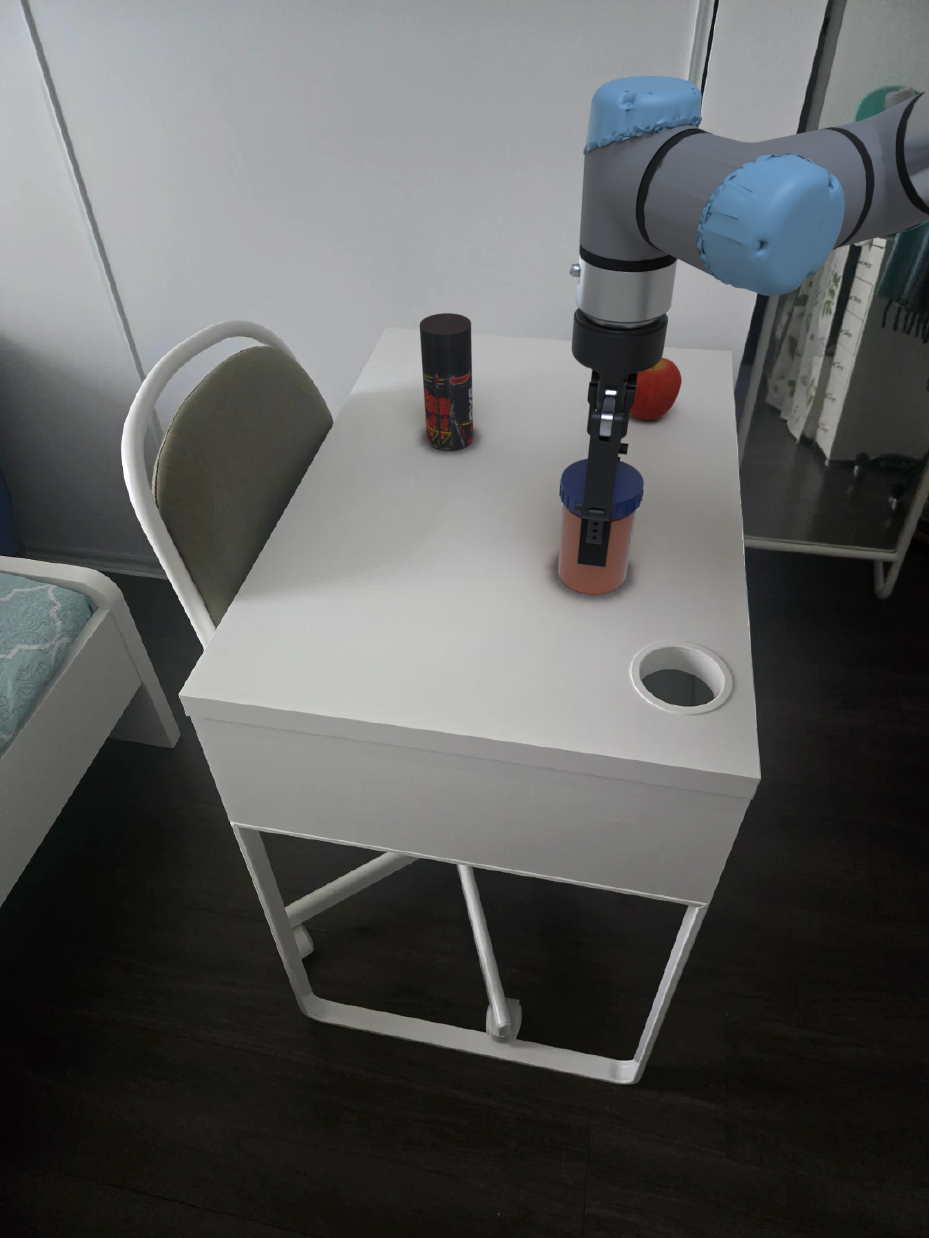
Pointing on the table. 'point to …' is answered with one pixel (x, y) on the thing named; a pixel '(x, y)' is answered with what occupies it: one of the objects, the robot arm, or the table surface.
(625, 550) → the jam jar
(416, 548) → the table surface
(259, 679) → the table surface
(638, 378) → the apple
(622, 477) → the jar lid
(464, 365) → the deodorant
